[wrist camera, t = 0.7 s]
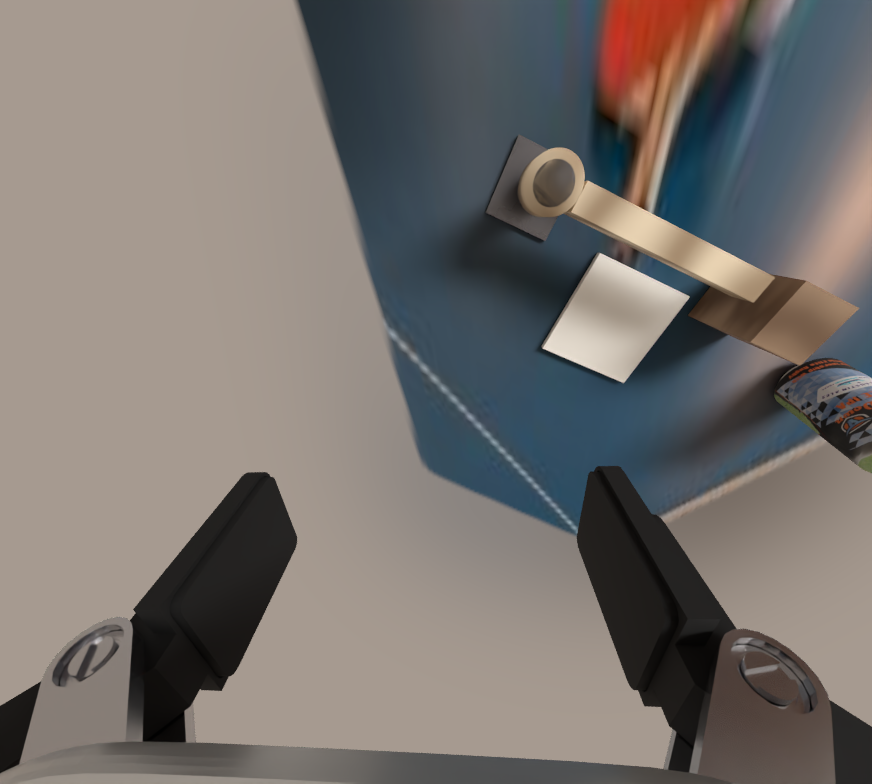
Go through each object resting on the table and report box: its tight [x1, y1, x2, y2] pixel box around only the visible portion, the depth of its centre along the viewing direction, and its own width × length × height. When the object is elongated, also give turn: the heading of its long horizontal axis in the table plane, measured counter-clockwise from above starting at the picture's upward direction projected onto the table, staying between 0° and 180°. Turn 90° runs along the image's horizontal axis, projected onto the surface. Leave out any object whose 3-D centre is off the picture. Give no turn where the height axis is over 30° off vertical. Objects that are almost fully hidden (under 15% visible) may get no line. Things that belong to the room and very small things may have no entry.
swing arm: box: [517, 148, 775, 303], centre depth 27 cm, size 20×4×6 cm, turn 67°
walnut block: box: [688, 274, 859, 366], centre depth 29 cm, size 5×5×8 cm
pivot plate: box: [486, 135, 558, 241], centre depth 29 cm, size 6×6×1 cm
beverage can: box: [774, 358, 872, 473], centre depth 31 cm, size 6×7×12 cm
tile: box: [541, 253, 690, 383], centre depth 34 cm, size 10×10×1 cm
